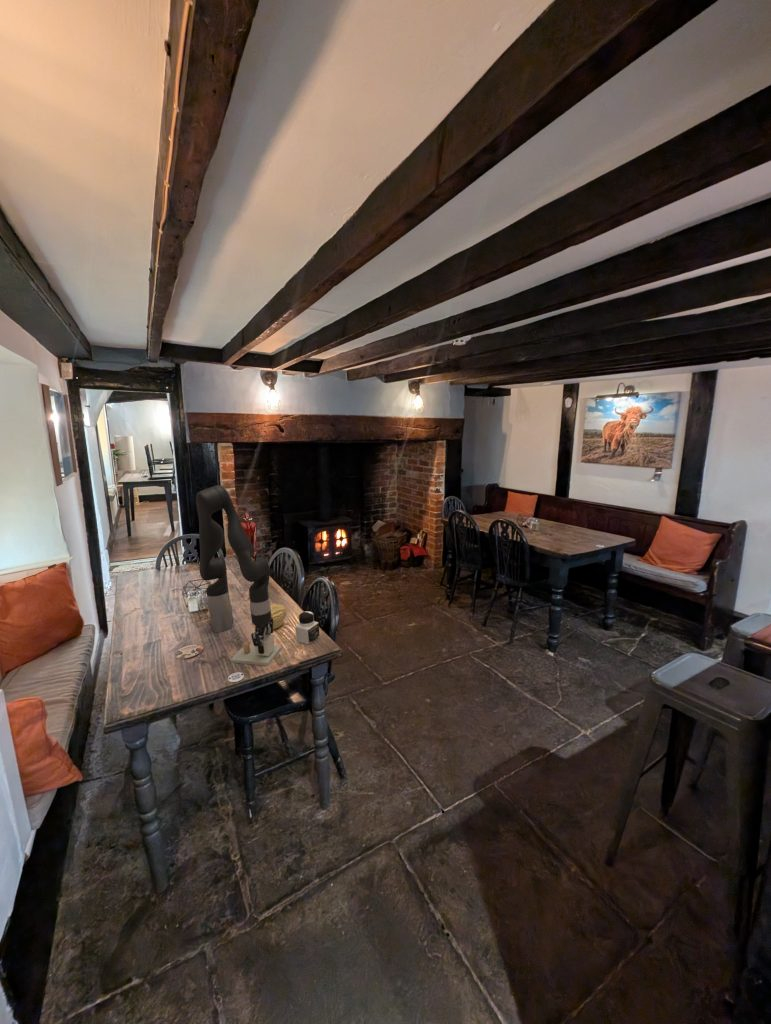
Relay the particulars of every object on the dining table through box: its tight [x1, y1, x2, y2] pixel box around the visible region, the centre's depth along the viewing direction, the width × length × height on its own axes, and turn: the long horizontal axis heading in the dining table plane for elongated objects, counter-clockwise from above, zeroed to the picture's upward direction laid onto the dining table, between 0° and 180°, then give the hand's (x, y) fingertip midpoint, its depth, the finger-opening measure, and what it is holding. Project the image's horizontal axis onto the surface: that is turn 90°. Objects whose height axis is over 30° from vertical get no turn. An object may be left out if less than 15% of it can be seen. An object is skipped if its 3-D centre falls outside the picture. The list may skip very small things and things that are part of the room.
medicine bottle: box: [294, 611, 320, 645], centre depth 177 cm, size 7×7×12 cm
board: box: [229, 641, 283, 667], centre depth 166 cm, size 12×16×5 cm
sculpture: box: [270, 602, 287, 630], centre depth 190 cm, size 12×12×11 cm
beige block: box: [255, 634, 276, 656], centre depth 165 cm, size 5×5×6 cm
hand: (265, 649), depth 165 cm, fingers closed on beige block, 5 cm apart
